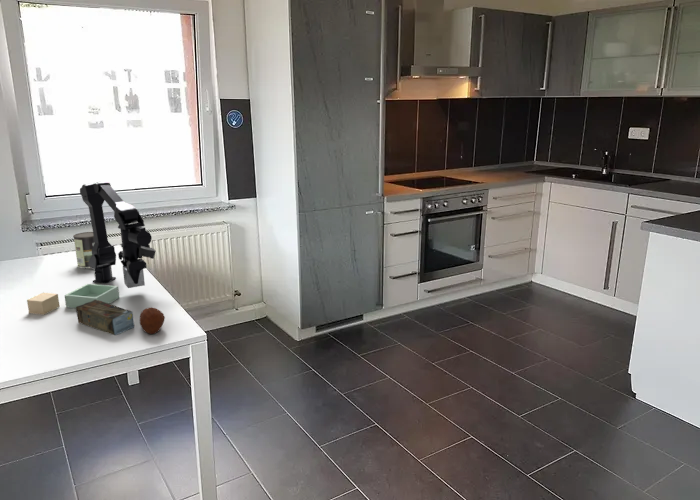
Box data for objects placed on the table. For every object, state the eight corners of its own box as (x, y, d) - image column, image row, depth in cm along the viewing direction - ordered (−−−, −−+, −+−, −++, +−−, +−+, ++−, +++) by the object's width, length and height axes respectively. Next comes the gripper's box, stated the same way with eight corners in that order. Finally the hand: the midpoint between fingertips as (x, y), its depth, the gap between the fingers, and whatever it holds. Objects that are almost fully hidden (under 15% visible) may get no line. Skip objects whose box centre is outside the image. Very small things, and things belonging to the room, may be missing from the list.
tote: (89, 294, 202) (87, 283, 200) (119, 297, 199) (118, 286, 198) (66, 307, 190) (64, 295, 189) (97, 310, 188) (96, 298, 186)
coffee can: (107, 261, 242) (103, 231, 238) (96, 268, 232) (92, 237, 228) (84, 261, 242) (80, 231, 238) (72, 268, 232) (68, 237, 228)
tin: (124, 283, 203) (122, 266, 201) (140, 280, 206) (139, 263, 204) (128, 288, 198) (126, 270, 196) (144, 285, 201) (143, 267, 199)
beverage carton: (114, 336, 168) (111, 317, 166) (76, 323, 177) (74, 305, 175) (135, 327, 174) (133, 308, 173) (98, 315, 184) (95, 297, 182)
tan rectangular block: (45, 305, 192) (43, 292, 190) (59, 307, 190) (57, 293, 189) (29, 313, 184) (26, 300, 183) (44, 315, 183) (42, 301, 182)
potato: (158, 321, 179) (156, 299, 177) (171, 333, 170) (169, 310, 168) (135, 327, 174) (133, 304, 172) (146, 339, 166) (144, 315, 164)
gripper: (159, 244, 194) (162, 284, 199) (146, 233, 209) (150, 271, 213) (126, 248, 188) (131, 290, 193) (116, 237, 203) (120, 275, 208)
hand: (134, 281), depth 202 cm, fingers closed on tin, 6 cm apart
